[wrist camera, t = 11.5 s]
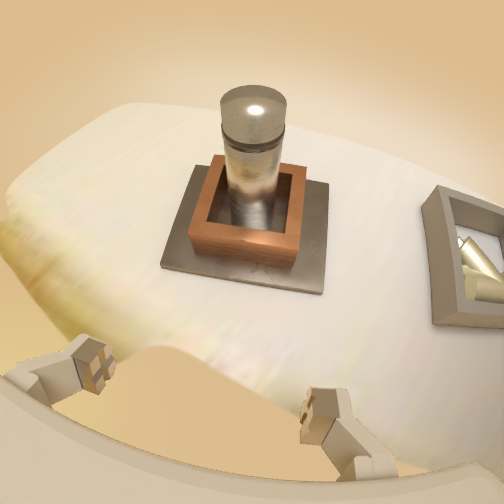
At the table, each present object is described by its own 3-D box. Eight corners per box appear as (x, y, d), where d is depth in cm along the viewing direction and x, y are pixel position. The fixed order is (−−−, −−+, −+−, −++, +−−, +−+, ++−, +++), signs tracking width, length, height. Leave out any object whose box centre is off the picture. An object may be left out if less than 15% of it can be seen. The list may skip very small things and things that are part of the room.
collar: (327, 187, 25) (336, 160, 22) (321, 294, 21) (334, 276, 17) (196, 169, 26) (190, 140, 23) (161, 267, 21) (147, 245, 18)
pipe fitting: (431, 246, 23) (440, 315, 20) (452, 222, 20) (468, 296, 16) (487, 258, 23) (498, 319, 19) (508, 238, 19) (524, 303, 16)
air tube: (275, 205, 23) (290, 88, 13) (270, 241, 22) (284, 125, 12) (235, 199, 23) (228, 82, 14) (226, 234, 22) (211, 117, 12)
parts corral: (501, 231, 24) (519, 215, 20) (517, 328, 19) (540, 318, 15) (421, 206, 24) (437, 184, 21) (432, 323, 19) (457, 311, 16)
